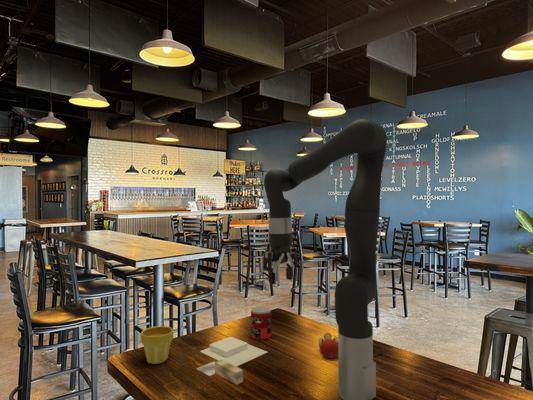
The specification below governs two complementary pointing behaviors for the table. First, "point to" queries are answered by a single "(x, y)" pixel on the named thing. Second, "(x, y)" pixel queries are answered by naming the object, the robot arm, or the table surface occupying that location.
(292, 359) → the table surface
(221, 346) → the tile
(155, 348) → the plant pot
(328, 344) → the kendama
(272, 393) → the table surface
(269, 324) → the canned food
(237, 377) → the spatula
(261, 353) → the mat
